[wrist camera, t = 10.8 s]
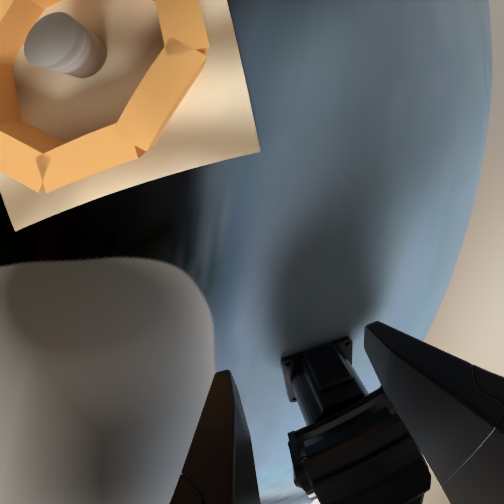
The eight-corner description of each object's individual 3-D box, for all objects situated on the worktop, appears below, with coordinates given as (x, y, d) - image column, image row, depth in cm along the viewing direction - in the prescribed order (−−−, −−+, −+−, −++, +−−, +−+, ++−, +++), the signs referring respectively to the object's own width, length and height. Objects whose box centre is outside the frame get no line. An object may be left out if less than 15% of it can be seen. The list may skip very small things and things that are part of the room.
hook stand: (255, 149, 17) (289, 166, 12) (23, 224, 16) (-27, 269, 10) (204, -70, 10) (215, -127, 4) (-19, 20, 9) (-71, 5, 3)
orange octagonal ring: (221, 129, 15) (229, 133, 12) (20, 200, 14) (-9, 219, 11) (178, -60, 10) (178, -90, 6) (-13, 23, 8) (-42, 14, 5)
